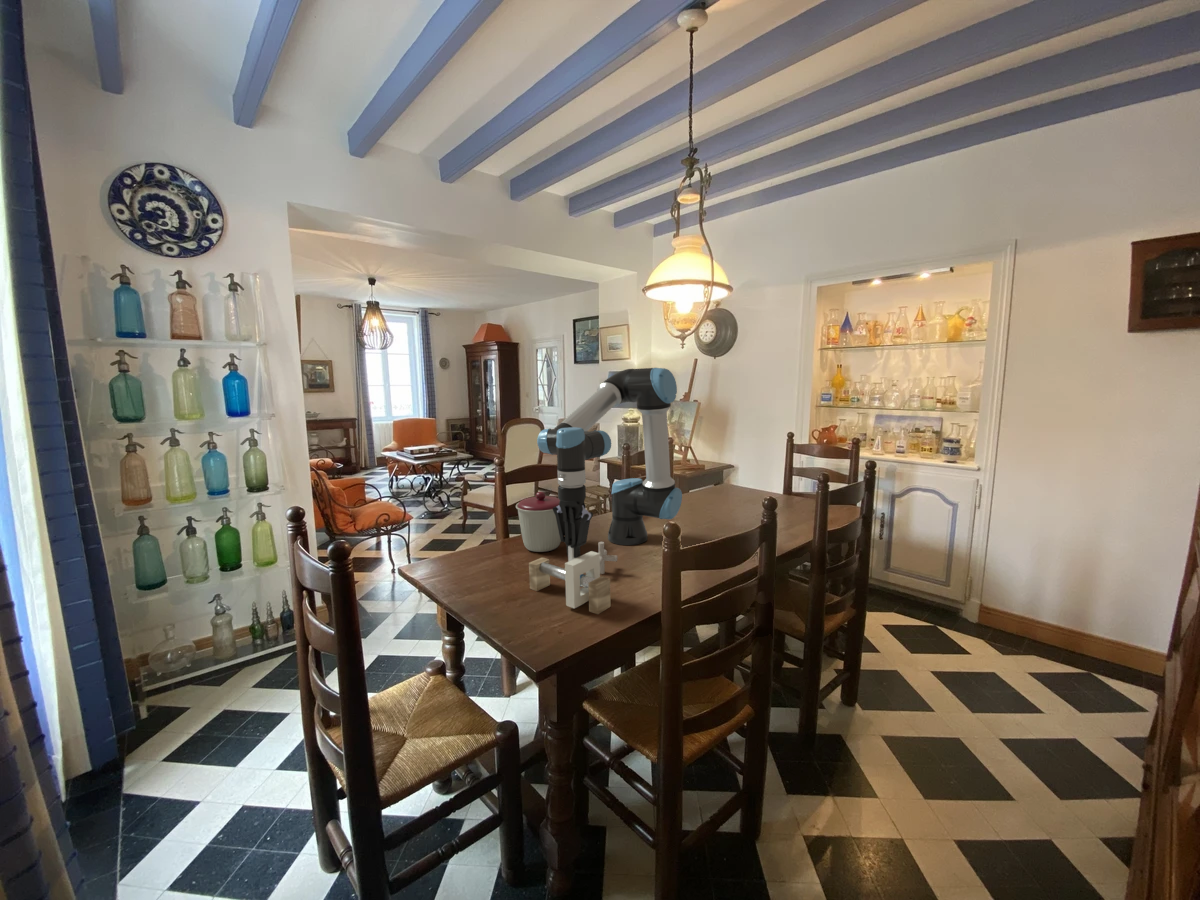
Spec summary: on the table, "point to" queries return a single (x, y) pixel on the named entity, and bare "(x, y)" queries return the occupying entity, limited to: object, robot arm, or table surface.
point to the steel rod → (563, 573)
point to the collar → (572, 577)
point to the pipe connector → (604, 557)
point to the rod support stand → (597, 587)
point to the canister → (539, 522)
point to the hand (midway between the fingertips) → (573, 567)
